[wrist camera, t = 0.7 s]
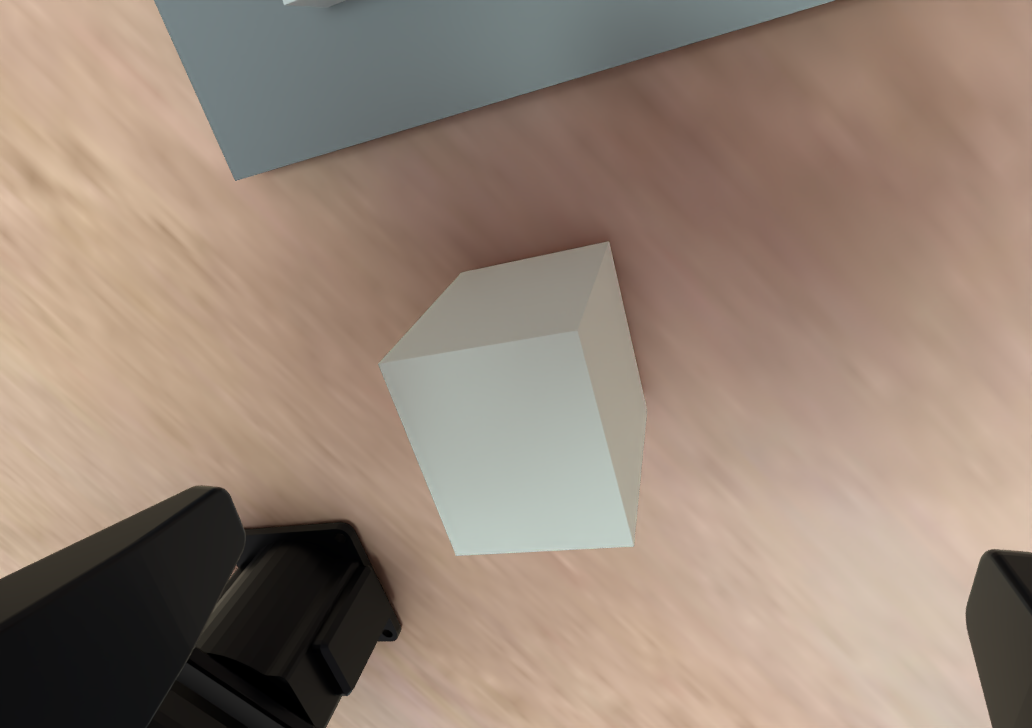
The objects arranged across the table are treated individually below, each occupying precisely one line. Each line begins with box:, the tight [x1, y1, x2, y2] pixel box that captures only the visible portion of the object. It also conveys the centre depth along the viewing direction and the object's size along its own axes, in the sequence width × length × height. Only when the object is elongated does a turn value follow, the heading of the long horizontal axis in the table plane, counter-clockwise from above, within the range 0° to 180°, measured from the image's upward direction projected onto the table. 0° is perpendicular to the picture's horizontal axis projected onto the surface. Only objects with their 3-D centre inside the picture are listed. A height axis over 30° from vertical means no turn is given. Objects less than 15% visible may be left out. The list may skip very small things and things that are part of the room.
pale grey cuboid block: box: [378, 241, 647, 556], centre depth 17 cm, size 4×6×7 cm
